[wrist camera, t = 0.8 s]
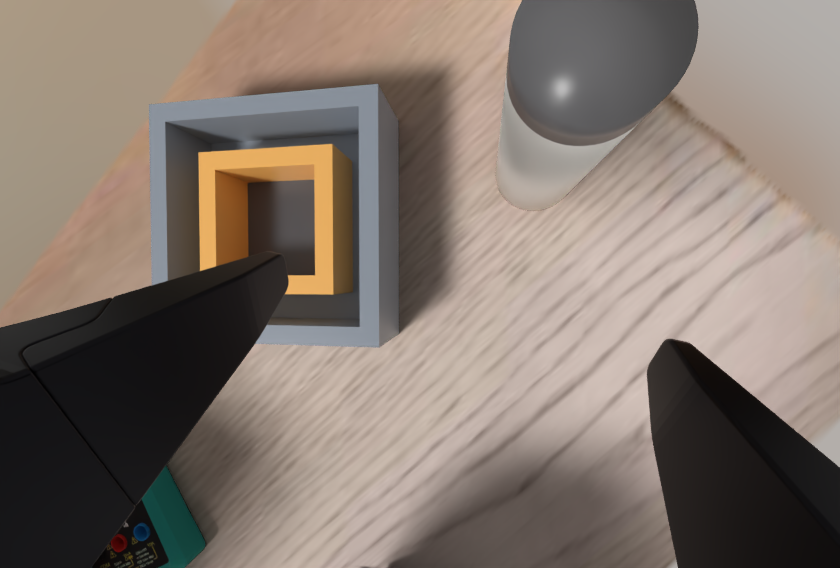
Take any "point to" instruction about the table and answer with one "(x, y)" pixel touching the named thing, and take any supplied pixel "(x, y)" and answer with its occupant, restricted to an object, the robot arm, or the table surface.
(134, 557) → the digital multimeter
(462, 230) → the table surface
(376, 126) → the box
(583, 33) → the grey capped shaker bottle
